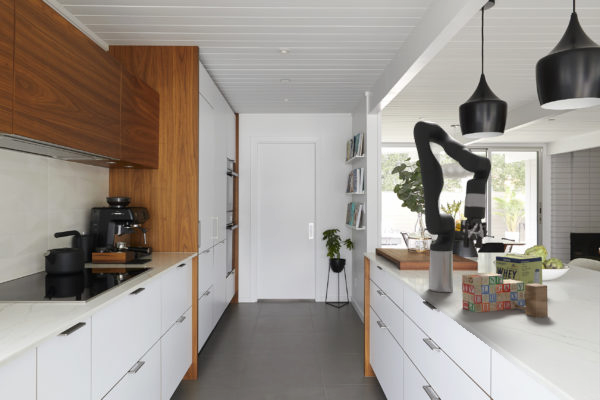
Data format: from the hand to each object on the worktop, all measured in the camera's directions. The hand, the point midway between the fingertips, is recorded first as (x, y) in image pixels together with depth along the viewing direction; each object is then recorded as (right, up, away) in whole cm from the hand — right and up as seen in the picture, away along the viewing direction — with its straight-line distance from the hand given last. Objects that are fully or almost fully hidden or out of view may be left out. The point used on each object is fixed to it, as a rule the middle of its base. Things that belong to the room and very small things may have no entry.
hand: (472, 247), depth 148 cm
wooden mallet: (+11, -20, -18) cm, 29 cm away
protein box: (+24, -21, +11) cm, 34 cm away
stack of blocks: (+2, -20, -11) cm, 23 cm away
